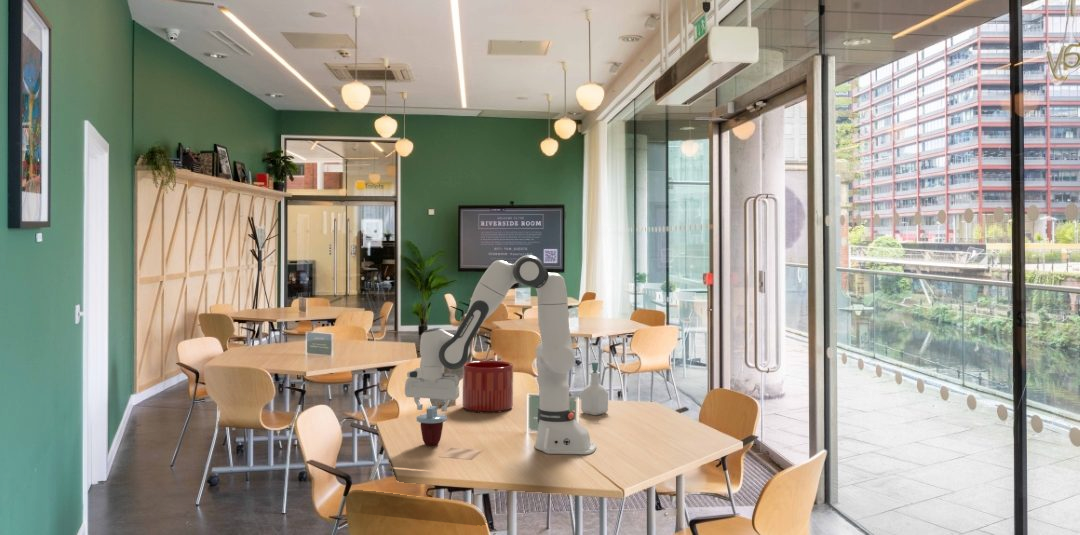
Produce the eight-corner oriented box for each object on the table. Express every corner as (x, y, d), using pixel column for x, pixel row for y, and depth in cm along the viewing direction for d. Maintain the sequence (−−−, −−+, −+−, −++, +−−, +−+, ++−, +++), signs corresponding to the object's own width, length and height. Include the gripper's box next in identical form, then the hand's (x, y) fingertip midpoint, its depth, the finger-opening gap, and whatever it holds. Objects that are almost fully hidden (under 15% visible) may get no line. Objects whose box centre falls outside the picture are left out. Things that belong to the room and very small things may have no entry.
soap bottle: (594, 410, 328) (594, 360, 327) (609, 413, 320) (610, 362, 320) (579, 413, 321) (579, 362, 321) (595, 416, 314) (595, 364, 314)
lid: (451, 417, 266) (451, 405, 266) (440, 424, 255) (440, 411, 255) (423, 415, 269) (423, 403, 269) (411, 422, 258) (411, 409, 258)
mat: (482, 451, 257) (482, 450, 257) (471, 461, 245) (471, 459, 245) (451, 449, 259) (451, 447, 259) (438, 458, 248) (438, 456, 248)
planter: (492, 416, 314) (493, 369, 313) (452, 409, 326) (452, 364, 326) (522, 406, 333) (523, 363, 333) (483, 400, 346) (483, 359, 345)
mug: (442, 450, 258) (443, 422, 258) (420, 451, 257) (420, 423, 256) (442, 443, 268) (442, 416, 268) (420, 443, 267) (420, 416, 267)
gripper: (462, 372, 262) (461, 410, 263) (410, 370, 267) (409, 407, 268) (455, 375, 256) (455, 414, 257) (402, 372, 261) (402, 410, 261)
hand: (431, 410), depth 262 cm, fingers open, 8 cm apart
